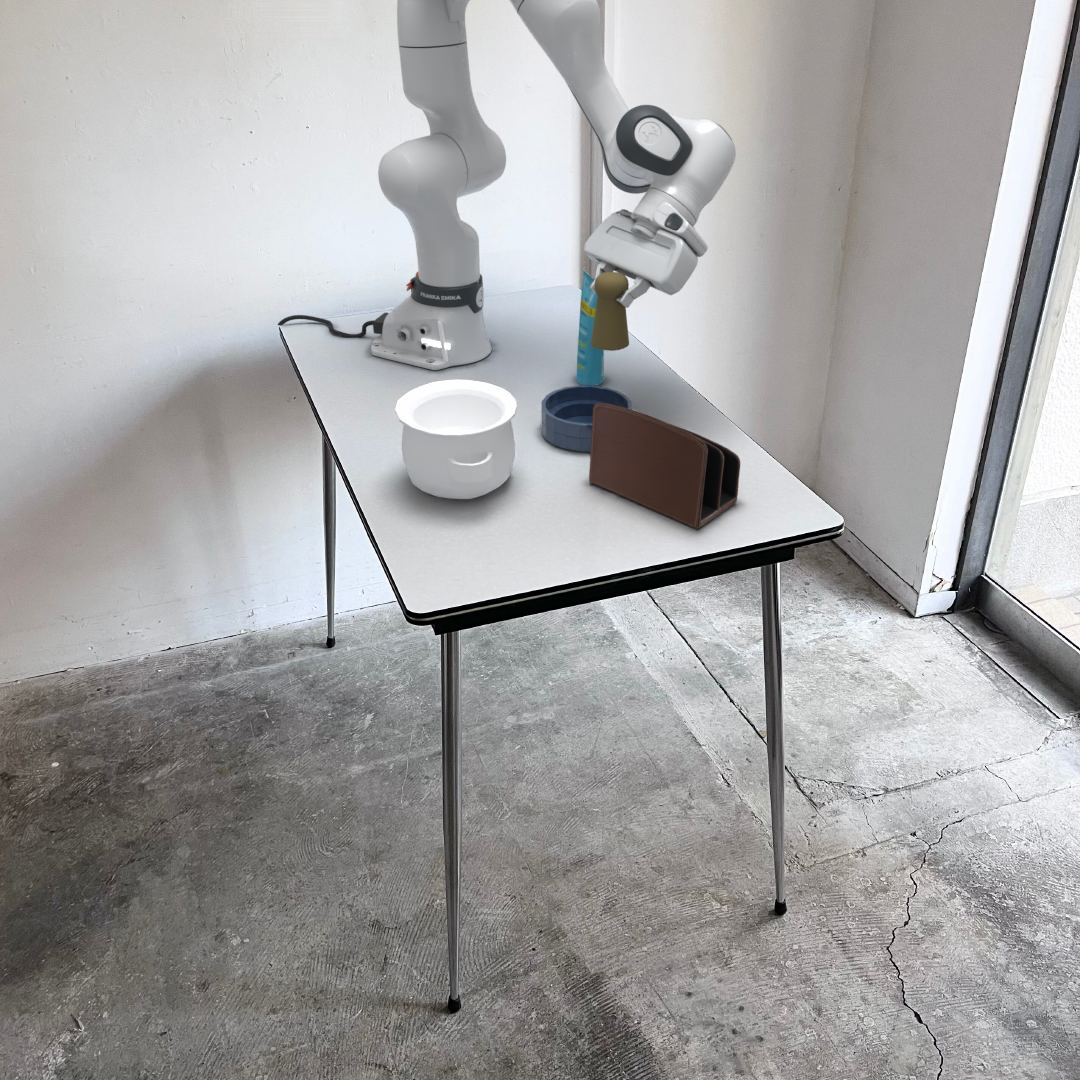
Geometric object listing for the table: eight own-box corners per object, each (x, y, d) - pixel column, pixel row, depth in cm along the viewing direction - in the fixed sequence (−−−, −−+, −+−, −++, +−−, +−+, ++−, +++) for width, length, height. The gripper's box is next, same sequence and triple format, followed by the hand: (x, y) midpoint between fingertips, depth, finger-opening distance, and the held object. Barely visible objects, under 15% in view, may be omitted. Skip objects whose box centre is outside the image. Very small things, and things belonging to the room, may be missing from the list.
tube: (568, 375, 194) (569, 270, 183) (592, 370, 196) (594, 266, 185) (588, 391, 188) (590, 284, 178) (612, 386, 190) (616, 279, 180)
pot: (541, 504, 157) (541, 428, 150) (425, 528, 151) (420, 450, 145) (490, 438, 174) (488, 367, 167) (385, 458, 168) (378, 386, 162)
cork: (626, 351, 167) (629, 282, 161) (587, 349, 168) (588, 279, 162) (631, 337, 172) (634, 269, 166) (593, 334, 173) (595, 266, 167)
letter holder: (697, 531, 150) (705, 440, 143) (587, 483, 162) (589, 397, 154) (737, 503, 157) (747, 414, 149) (629, 459, 168) (633, 374, 160)
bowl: (529, 445, 172) (529, 417, 169) (557, 407, 183) (557, 380, 180) (617, 459, 168) (618, 430, 165) (640, 419, 179) (642, 391, 177)
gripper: (606, 195, 170) (556, 268, 170) (695, 226, 156) (639, 307, 156) (628, 218, 174) (578, 290, 175) (716, 251, 160) (661, 329, 161)
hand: (608, 298), depth 165 cm, fingers closed on cork, 5 cm apart
